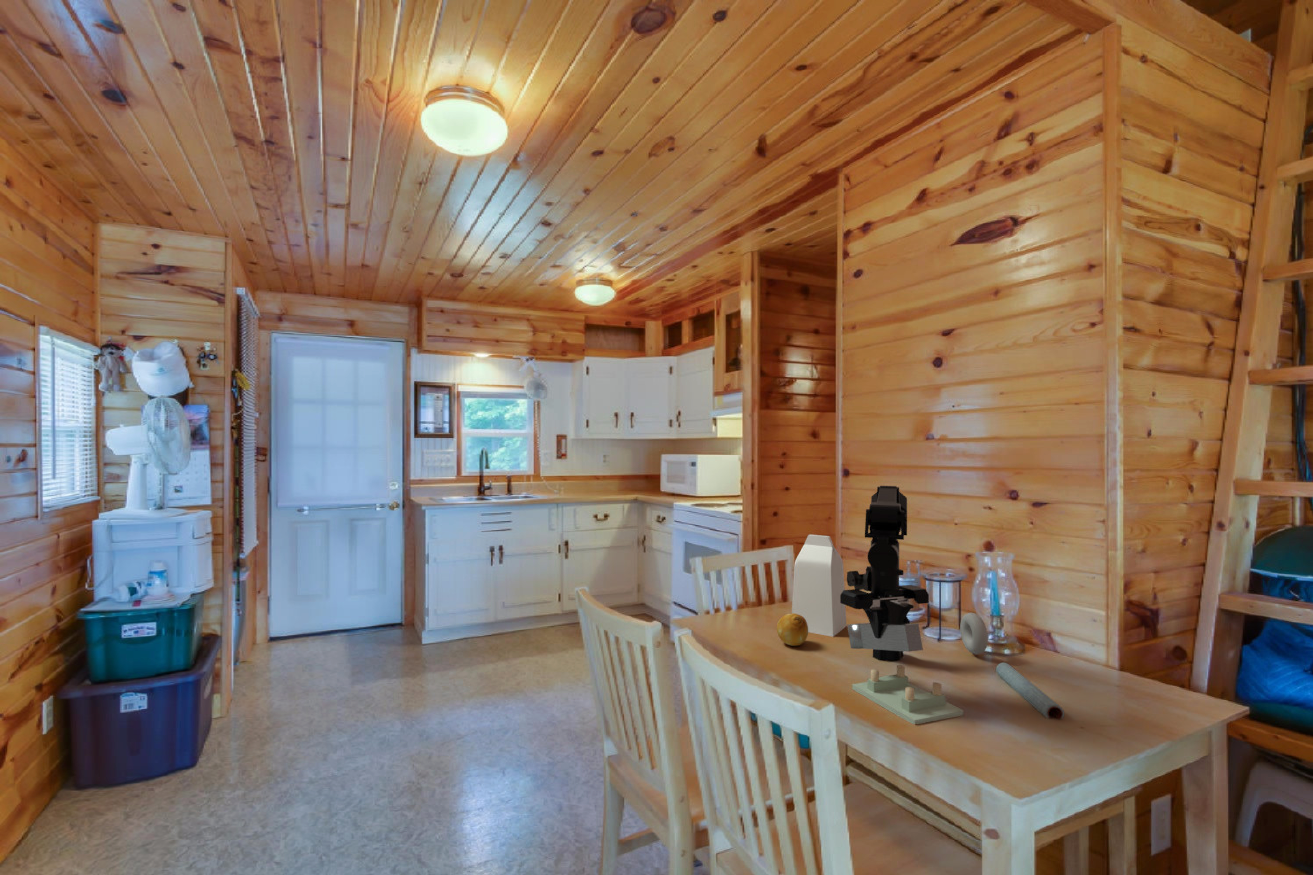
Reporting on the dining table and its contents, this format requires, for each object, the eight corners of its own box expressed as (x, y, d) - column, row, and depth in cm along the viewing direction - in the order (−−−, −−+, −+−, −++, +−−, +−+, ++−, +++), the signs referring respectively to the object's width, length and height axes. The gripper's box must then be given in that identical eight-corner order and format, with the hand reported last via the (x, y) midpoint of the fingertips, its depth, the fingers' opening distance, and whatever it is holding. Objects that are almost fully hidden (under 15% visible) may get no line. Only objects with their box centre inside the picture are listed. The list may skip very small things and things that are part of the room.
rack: (897, 681, 137) (897, 658, 137) (963, 715, 121) (963, 689, 121) (852, 688, 133) (852, 665, 133) (914, 725, 116) (914, 698, 116)
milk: (790, 628, 175) (791, 536, 175) (806, 618, 184) (806, 531, 184) (832, 636, 168) (833, 540, 168) (846, 626, 178) (846, 534, 178)
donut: (957, 646, 160) (957, 607, 160) (971, 646, 160) (971, 607, 160) (976, 660, 150) (976, 619, 150) (990, 660, 150) (990, 619, 150)
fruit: (812, 650, 158) (812, 618, 158) (779, 649, 158) (779, 618, 158) (804, 639, 166) (804, 609, 166) (774, 639, 166) (774, 609, 166)
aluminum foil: (995, 676, 141) (995, 661, 141) (1026, 678, 141) (1026, 663, 141) (1045, 722, 119) (1045, 704, 119) (1083, 724, 118) (1083, 706, 118)
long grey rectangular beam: (865, 645, 142) (862, 622, 143) (927, 649, 124) (922, 623, 125) (845, 648, 140) (842, 624, 142) (904, 652, 122) (900, 625, 124)
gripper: (894, 555, 143) (894, 623, 143) (825, 559, 137) (824, 630, 137) (930, 563, 132) (930, 637, 132) (857, 568, 126) (856, 645, 126)
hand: (884, 637), depth 132 cm, fingers closed on long grey rectangular beam, 3 cm apart
